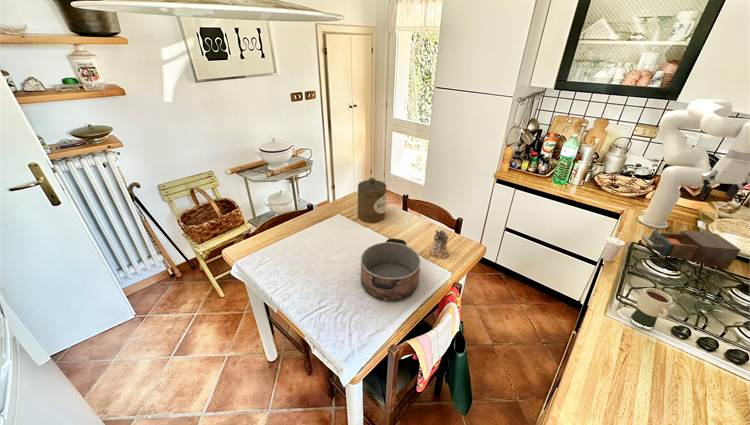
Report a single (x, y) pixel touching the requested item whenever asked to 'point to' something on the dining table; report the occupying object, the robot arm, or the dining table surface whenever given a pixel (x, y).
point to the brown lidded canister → (371, 200)
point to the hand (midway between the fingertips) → (716, 195)
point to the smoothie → (612, 248)
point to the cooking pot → (390, 270)
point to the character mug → (651, 306)
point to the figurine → (439, 245)
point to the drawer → (678, 250)
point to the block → (673, 241)
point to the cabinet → (712, 249)
